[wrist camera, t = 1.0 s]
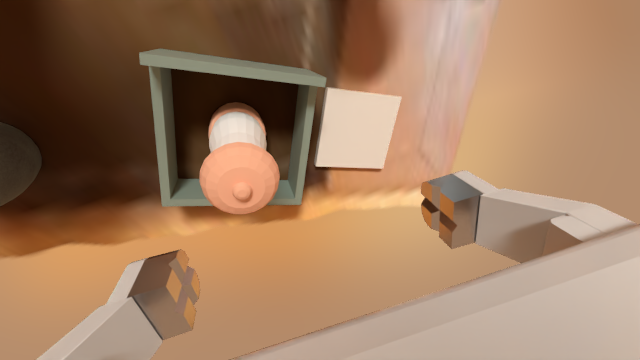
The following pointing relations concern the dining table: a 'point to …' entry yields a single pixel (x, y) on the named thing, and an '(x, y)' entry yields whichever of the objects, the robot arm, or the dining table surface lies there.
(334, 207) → the dining table surface
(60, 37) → the dining table surface
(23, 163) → the bottle
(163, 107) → the grey open box
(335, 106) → the ceramic tile
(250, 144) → the pepper shaker
